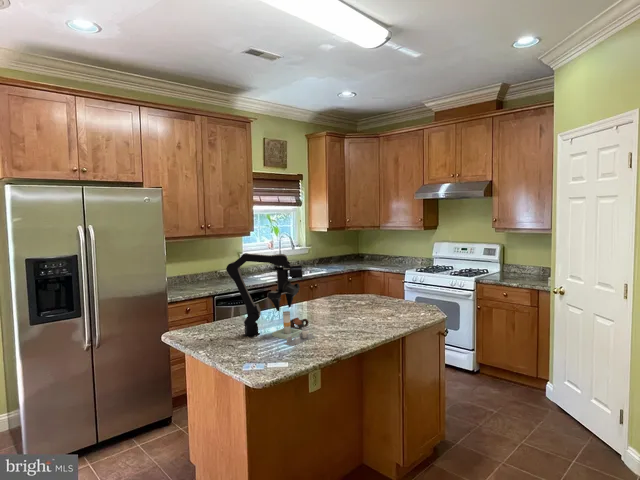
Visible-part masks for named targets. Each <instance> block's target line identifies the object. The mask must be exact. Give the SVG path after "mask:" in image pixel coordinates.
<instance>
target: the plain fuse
mask: <svg viewBox="0 0 640 480" xmlns="http://www.w3.org/2000/svg"><path fill="white" fill-rule="evenodd" d="M309 333H310V327H309V326H307V327H302V338H303V339H307V334H309Z"/></svg>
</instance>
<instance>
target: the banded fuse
mask: <svg viewBox="0 0 640 480" xmlns="http://www.w3.org/2000/svg"><path fill="white" fill-rule="evenodd" d="M282 316H283V317H282V319H283V328H284V333H283V334H286V335H290V334H292V333H291V324H290V320H291V311H289V310H286V311H283V312H282Z"/></svg>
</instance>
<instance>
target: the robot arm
mask: <svg viewBox="0 0 640 480" xmlns="http://www.w3.org/2000/svg"><path fill="white" fill-rule="evenodd" d="M247 262H251V263H265V264H272V265H275V266H274V268H273V269H272V271H276V280H275V284H277V288H276V289H275V290H272V291H268V292H267V299H269V300H270V301H271V302H272V305H274V307H275V309H276V312H280V303H281V300H282V295H285V297H286V303H287V306H288V308H291V307H292V303H293V300H294V298H295V296H296V295H298V293H299V291H300V290H301V289H300V288H301V287H300V284H299V283H297V282H295V283H293V284H292V283H291V282H292V281H291V280H290V279H289V277H290V278H291V279H303V278H304V275H303V265H302V264H296V265H293V264H292V263H291V262H290V261H289V258H288V256H287V255H286V254H284V253H278V254H270V255H268V254H258V253H257V254H256V253H247V252H244V253H243V254H242V255H241V256H240V257H239V258H238V259H236V260H235V261H232V262H230V263H228V264H227V265H226V269H225V270H226V273H227V274H228V275H229V277H230V279H232V280H233V281H234V283H235V286H236V287H237V289H238V290H237V291H238V292H239V294H240V296H241V299H242V301H243V303H244V305H245V310H246V315H247V317H246V318H245V319H244V321H243V323H244V334H242V336H244V337H247V336H248V338H254V337H256V336H258V335H259V336H260V335H261V333H260V332H259V326H258V323H257V321H259V319H260V317H261V315H262V313H261V312H262V309H261V307H260V306H259V303H255V302H254V301H253V298H252V296H251V294H250V292H249V290H248V288H247V285H246V283H245V280H244V278H243V275H242V270H241V267H242V266H243V265H244V264H245V263H247ZM284 267H285V268H284Z"/></svg>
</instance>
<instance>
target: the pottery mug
mask: <svg viewBox="0 0 640 480" xmlns="http://www.w3.org/2000/svg"><path fill="white" fill-rule="evenodd" d="M299 318H300V317H295V318H292V319H290V324H291V328H292V329H294V328H296V326H297V327H298V328H297V329H298V330H302V327H309V320H308V319H307V318H303V319H302V318H301V319H299ZM304 322H305V324H304Z"/></svg>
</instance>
